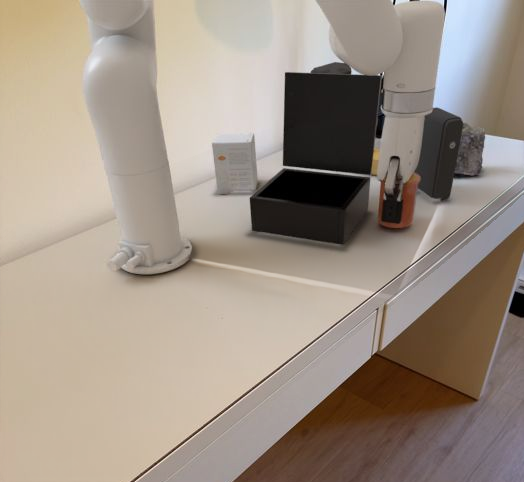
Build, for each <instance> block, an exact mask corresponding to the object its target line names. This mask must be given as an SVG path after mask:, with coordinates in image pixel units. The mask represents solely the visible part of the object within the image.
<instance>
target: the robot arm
mask: <svg viewBox="0 0 524 482" xmlns="http://www.w3.org/2000/svg"><path fill="white" fill-rule="evenodd" d="M315 2H316V3H317V5H318V6H319V8H320V9H321V11H322V13H323V14H324V16H325V19H326V20H327V22H328V23H329V25H330V26H329V29H328V43H329V46H330V49H331V51H332V52H333V54H334V55H335V56H336V58H338V59H339V60H340V61H341V63H345V64H347V65H348V66H350V67H351V69H353V70H354V71H355V72H357V73H358V74H359V75H369V76H372V75H381V74H383V84H382V94H381V95H382V97H381V109H380V110H381V113H382V114H383V115H385V116H384V121H383V126H382V131H381V132H382V133H381V138H380V145H379V146H380V147H379V149H380V153H379V162H378V170H377V175H376V179H377V181H378V182H380V181H382V180H383V179H384V178H385V177H386V175H387V178H386V183H385V190H384V196H383V205H382V216H381V221H382V222H388V223H395V224H399V223H400V222H401V218H402V209H403V200H402V194H403V188H404V183H406V182H407V181H408V180H409V179H410V177H411V176H412V174H413V172H414V171H415V169H416V167H417V165H418V162H419V157H420V152H421V145H422V137H423V128H424V120H425V118H424V117H425V115H427V114H430V113H431V112H432V110H433V108H434V102H435V94H436V86H437V78H438V71H439V64H440V56H441V48H442V43H443V42H442V41H443V34H444V26H445V19H446V18H445V16H446V11H445V7H444V5H443V4H442V3H441V2H438V1H435V0H410V1H404V2H399V3H397V4H393V2H392V0H315ZM78 3H79V5H80V7H81V8H82V10H83V12H84V14H86V18H87V27H88V36H89V43H90V44H89V45H90V52H91V53H90V54H89V55H88V57H87V58H86V60H85V63H84V66H83V70H82V77H81V78H82V79H81V81H82V93H83V98H84V102H85V106H86V109H87V112H88V115H89V118H90V121H91V124H92V127H93V130H94V133H95V136H96V140H97V145H98V148H99V152H100V156H101V160H102V164H103V168H104V171H105V175H106V180H107V182H108V183H107V184H108V188H109V191H110V196H111V201H112V204H113V208H114V212H115V216H116V221H117V225H118V230H119V234H120V238H121V240H119V241H118V247H119V249H118V250H117V253H116V254H115V255H114V256H113V257H111V258H109V260H107V261H106V266H107V268H108V269H109V270H110V271H111V272H117V271H119V270H120V268H121V269H122V270H124V271H125V272H128V273H131V274H135V275H156V274H157V275H158V274H163V273H166V272H169V271H172V270H175V269H177V268H179V267H181V266H183V265H184V264H186V263H187V262H188V261H189V260H190V259H191V256H190V255H191V253H192V251H193V245H192V243H191V242H190V241H189V239H188V238H186V237H184V236H182V235H181V229H180V222H179V217H178V211H177V205H176V198H175V192H174V187H173V180H172V174H171V167H170V161H169V158H168V151H167V145H166V140H165V133H164V128H163V123H162V117H161V112H160V111H161V110H160V107H159V106H160V105H159V99H158V88H157V83H158V81H157V80H158V61H157V42H156V22H155V0H78ZM397 176H398V177H402V179H401V181H400V180H396V177H397ZM395 184H399V190H397V188H395Z"/></svg>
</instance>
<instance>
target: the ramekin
mask: <svg viewBox="0 0 524 482" xmlns="http://www.w3.org/2000/svg"><path fill="white" fill-rule="evenodd" d="M386 178H387V175H386V177H385V178H384V179H383V180H382V181H379V183H380V185H379V197H378V199H379V200H378V210H377V222H378V223H379V225H381V226H383V227H387V228H390V229H403V228H407V227H410V226H411V225H412V224H413V223H414V218H415V210H416V203H417V195H418V183H419V182H420V180H421V177H420V176H419V175H418V174H416V173H414V172H413V174H412V176H411V177H410V179H409V180H408V181H407V182H406V183H404V188H403V194H402V200H403V209H402V218H401V222H400V223H399V224H395V223H388V222H382V221H381V216H382V205H383V196H384V190H385V183H386ZM401 179H402V177H398V176H397V177H396V180H400V181H401ZM395 188H397V190H399V184H395Z"/></svg>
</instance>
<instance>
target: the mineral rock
mask: <svg viewBox="0 0 524 482" xmlns="http://www.w3.org/2000/svg"><path fill="white" fill-rule="evenodd" d="M485 131H486V130H485V128H484V127H481V126H477V127H475V126H474V127H472V126H471V125H469V124H468V123H467V122H463V129H462V134H461V140H460V146H459V151H458V157H457V163H456V168H455V174H456V175H466V176H471V177H472V176H479V175H480V173H481V171H482V169H483V161H484V160H483V153H484V149H485V140H486V133H485Z"/></svg>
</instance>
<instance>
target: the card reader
mask: <svg viewBox="0 0 524 482" xmlns="http://www.w3.org/2000/svg"><path fill="white" fill-rule="evenodd" d="M424 118H425V120H424V128H423V137H422V145H421V152H420V157H419V162H418V165H417V167H416V169H415V171H414V173H416V174H418V175H419V176H420V177H421V180H420V182H419V183H418V188H417V190H420V191H421V192H423V194H426V195H427V196H428V197H430V198H431V199H432V198H433V199H435V200H438V199H440V202H442V201H447V200H449V198H450V197H451V193H452V189H453V184H454V178H455V174H456V173H455V168H456V163H457V157H458V151H459V146H460V140H461V134H462V129H463V123H464V121H463V119H462V117H461V116H459V115H456V114H454V113H451V112H449V111H446V110H445V109H442V108H441V107H433V110H432V112H431V113H430V114H427V115H425V117H424Z"/></svg>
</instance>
